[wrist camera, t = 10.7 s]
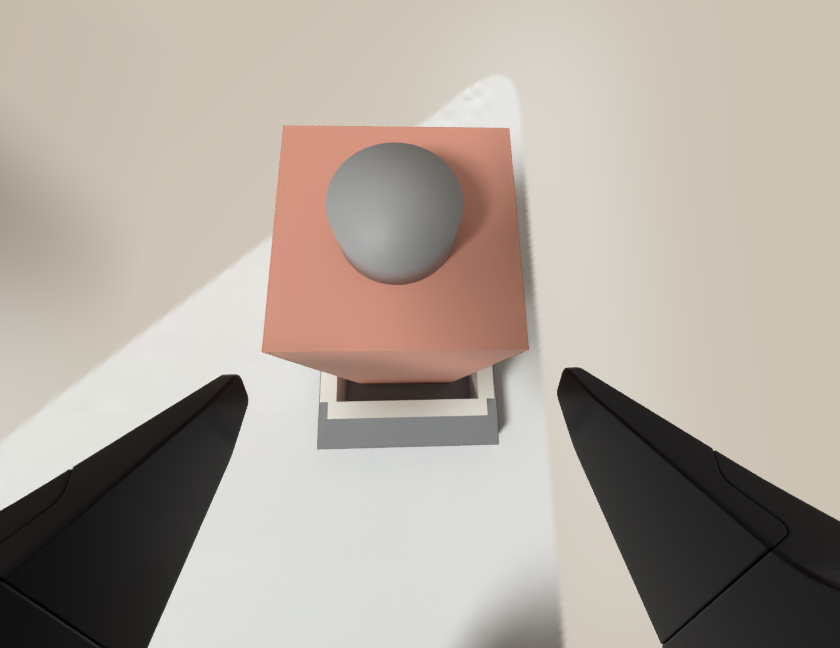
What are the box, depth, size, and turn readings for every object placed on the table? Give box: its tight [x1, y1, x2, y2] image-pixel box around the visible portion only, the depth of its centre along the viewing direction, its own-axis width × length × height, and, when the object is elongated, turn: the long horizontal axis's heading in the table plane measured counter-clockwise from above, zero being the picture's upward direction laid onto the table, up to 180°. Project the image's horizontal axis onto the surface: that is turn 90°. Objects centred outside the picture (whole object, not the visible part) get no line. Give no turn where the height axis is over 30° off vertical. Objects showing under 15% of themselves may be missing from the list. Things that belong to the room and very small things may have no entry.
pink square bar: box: [262, 126, 529, 384], centre depth 13 cm, size 5×5×14 cm
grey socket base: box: [317, 365, 499, 449], centre depth 19 cm, size 12×10×4 cm
